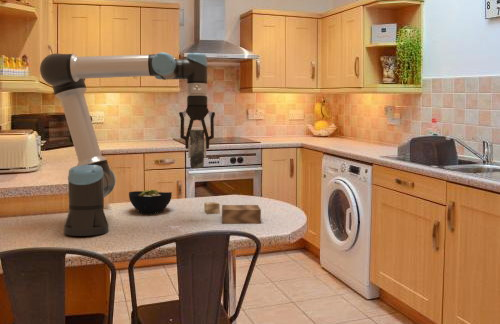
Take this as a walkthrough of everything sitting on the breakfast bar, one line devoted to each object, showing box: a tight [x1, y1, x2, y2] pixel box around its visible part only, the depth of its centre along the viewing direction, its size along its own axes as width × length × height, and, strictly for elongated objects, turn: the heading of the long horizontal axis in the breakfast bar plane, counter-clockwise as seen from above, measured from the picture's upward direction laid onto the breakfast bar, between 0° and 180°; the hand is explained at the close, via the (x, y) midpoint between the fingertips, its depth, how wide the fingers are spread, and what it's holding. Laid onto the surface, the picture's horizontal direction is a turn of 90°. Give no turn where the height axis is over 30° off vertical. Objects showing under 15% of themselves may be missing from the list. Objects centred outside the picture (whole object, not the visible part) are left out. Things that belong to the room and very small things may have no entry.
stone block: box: [189, 129, 205, 169], centre depth 203 cm, size 9×14×5 cm
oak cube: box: [203, 201, 221, 215], centre depth 219 cm, size 5×5×5 cm
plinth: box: [221, 204, 262, 225], centre depth 206 cm, size 14×14×5 cm
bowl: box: [128, 189, 173, 215], centre depth 221 cm, size 17×17×10 cm
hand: (197, 157), depth 204 cm, fingers closed on stone block, 5 cm apart
